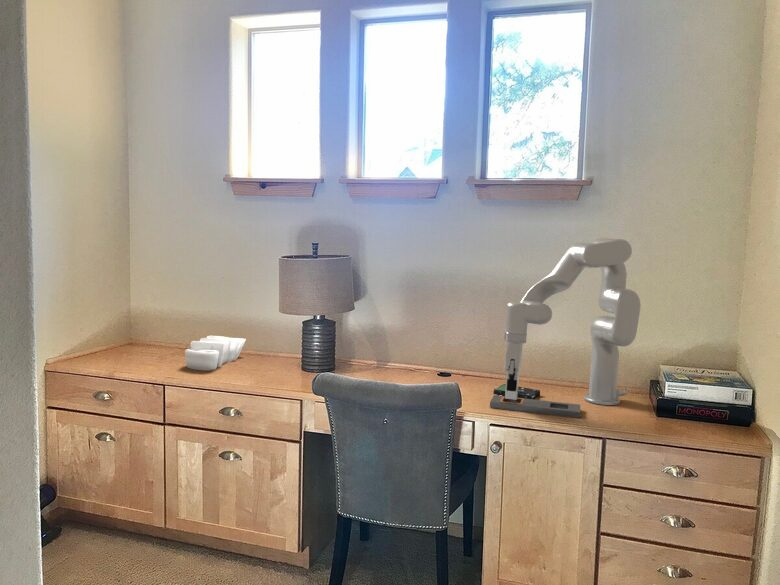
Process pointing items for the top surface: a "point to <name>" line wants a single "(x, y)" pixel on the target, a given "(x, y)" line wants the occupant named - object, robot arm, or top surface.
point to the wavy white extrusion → (213, 352)
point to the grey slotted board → (536, 406)
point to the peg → (512, 394)
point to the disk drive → (519, 392)
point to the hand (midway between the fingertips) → (512, 388)
